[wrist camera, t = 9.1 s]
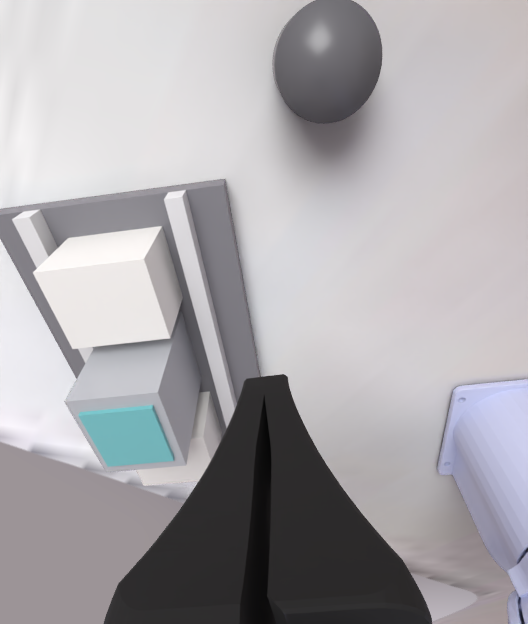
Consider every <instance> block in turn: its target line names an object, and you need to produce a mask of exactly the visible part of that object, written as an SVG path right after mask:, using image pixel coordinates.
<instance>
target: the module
mask: <svg viewBox="0 0 528 624" xmlns="http://www.w3.org/2000/svg"><path fill="white" fill-rule="evenodd" d="M200 384H201V375H200V372H199V368H198V365H197V362H196V358H195V355H194V351H193V348H192V345H191V341H190V338H189V334H188V331H187V328H186V324H185V321H184V317H183V314H182V311H180V312H178V315H177V318H176V321H175V325H174V328H173V331H172V335H171V338H169V339H160V340H151V341H142V342H133V343H124V344H115V345H106V346H96V347H94V349H93V351H92V353H91V354H90V356H89V358H88V360H87V362H86V363H85V365H84V367H83V369H82V371H81V372H80V374H79V376H78V378H77V380H76V382H75V383H74V385H73V387H72V389H71V391H70V392H69V394H68V396H67V398H66V400H65V401H64V402H65V404H66V405H67V407H68V409H69V411H70V412H71V414H72V416H73V417H74V419H75V421H76V422H77V424H78V426H79V427H80V429H81V431H82V432H83V434H84V436H85V438H86V439H87V441H88V443H89V444H90V446H91V448H92V449H93V451H94V453H95V454H96V456H97V458H98V459H99V461H100V463H101V464H102V466H103V468H104V470H105V471H106V472H118V471H129V470H140V469H152V468H163V467H175V466H186V464H187V459H188V453H189V447H190V441H191V436H192V430H193V424H194V418H195V413H196V407H197V401H198V395H199V390H200Z"/></svg>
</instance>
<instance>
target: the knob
mask: <svg viewBox="0 0 528 624" xmlns="http://www.w3.org/2000/svg"><path fill="white" fill-rule="evenodd" d="M381 65H382V44H381V39H380V35H379V31H378V29H377V26H376V24H375V22H374V21H373V19H372V17H371V16H370V15H369V14H368V12H367V11H366V10H365V9H364V8H363V7H362V6H360V5H359V4H357V3H356V2H354V1H352V0H315V1H313V2H311V3H309V4H308V5H306V6H304V7H303V8H302V9H301V10H300V11H298V12H297V13H296V14H295V15H294V16H293V17H292V18H291V19H290V20H289V21H288V23H287V24H286V25H285V26H284V28H283V29H282V31H281V33H280V35H279V37H278V39H277V41H276V45H275V48H274V53H273V74H274V79H275V82H276V85H277V87H278V90H279V91H280V93H281V95H282V97H283V98H284V100H285V102H286V103H287V105H288V106H289V107H290V108H291V109H292V110H293V111H294V112H295V113H296V114H297V115H299V116H300V117H302V118H304V119H305V120H308V121H311V122H315V123H323V124H325V123H333V122H337V121H340V120H343V119H345V118H347V117H349V116H350V115H352V114H353V113H355V112H356V111H357V110H358V109H359V108H360V107H361V106H362V105H363V104H364V103H365V102H366V101H367V99H368V98H369V96H370V95H371V93H372V91H373V90H374V88H375V85H376V83H377V81H378V77H379V74H380V70H381Z"/></svg>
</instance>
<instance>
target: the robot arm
mask: <svg viewBox="0 0 528 624" xmlns="http://www.w3.org/2000/svg"><path fill="white" fill-rule="evenodd" d="M437 470H438V472H439V474H441V475H453V477H454V479H455V481H456V484H457V486H458V488H459V490H460V492H461V494H462V497H463V499H464V501H465V503H466V505H467V508H468V510H469V512H470V514H471V516H472V518H473V521H474V523H475V525H476V527H477V529H478V532H479V534H480V536H481V538H482V540H483V543H484V545H485V547H486V549H487V550H488V552H489V554H490V555H491V557H492V558H493V559H494V560H495V562H496V563H497V564H498V565H499V566H500V567H501V568H502V569H503V570H504V571H505V572H506V573H508V575H509V577H510V579H511V581H512V583H513V585H514V588H515V591H513V592H512V593H511V594H510V595H509V597H508V602H507V613H508V624H528V379H524V380H514V381H504V382H493V383H483V384H473V385H463V386H458V387H456V388H455V389H454V391H453V394H452V399H451V404H450V409H449V413H448V418H447V423H446V428H445V433H444V438H443V443H442V447H441V452H440V457H439V462H438V467H437ZM104 624H432V618H431V615H430V612H429V609H428V607H427V604H426V602H425V600H424V598H423V596H422V594H421V592H420V590H419V588H418V586H417V584H416V582H415V581H414V579H413V577H412V575H411V574H410V572H409V570H408V568H407V567H406V565H405V563H404V562H403V560H402V559H401V558H400V557H399V556H398V555H397V553H396V552H395V551H394V550H393V549H392V548H391V547H390V546H389V545H388V544H387V543H386V541H385V540H384V539H383V538H382V537H381V536H380V535H379V534H378V532H377V531H376V530H375V529H374V528H373V526H372V525H371V524H370V523H369V522H368V520H367V519H366V518H365V517H364V516H363V514H362V513H361V512H360V510H359V509H358V508H357V507H356V505H355V504H354V503H353V501H352V500H351V499H350V497H349V496H348V495H347V494H346V492H345V491H344V490H343V488H342V487H341V485H340V484H339V483H338V481H337V480H336V478H335V477H334V475H333V474H332V472H331V471H330V469H329V468H328V466H327V465H326V463H325V461H324V460H323V458H322V457H321V455H320V453H319V452H318V450H317V448H316V446H315V445H314V443H313V441H312V439H311V437H310V436H309V434H308V432H307V430H306V428H305V426H304V424H303V421H302V419H301V417H300V415H299V413H298V411H297V408H296V406H295V403H294V401H293V398H292V395H291V392H290V388H289V384H288V377H287V376H286V375H284V374H282V375H274V376H265V377H256V378H247V379H246V380H245V381H244V384H243V387H242V391H241V394H240V397H239V400H238V403H237V405H236V408H235V411H234V413H233V415H232V418H231V420H230V422H229V425H228V427H227V429H226V432H225V434H224V436H223V438H222V440H221V442H220V444H219V446H218V448H217V450H216V452H215V454H214V456H213V458H212V460H211V461H210V463H209V465H208V467H207V468H206V470H205V472H204V474H203V475H202V477H201V478H200V480H199V482H198V483H197V485H196V487H195V488H194V490H193V491H192V493H191V494H190V496H189V497H188V499H187V500H186V502H185V503H184V505H183V506H182V507H181V509H180V510H179V512H178V513H177V515H176V516H175V517H174V518H173V520H172V521H171V523H170V524H169V525H168V526H167V527H166V529H165V530H164V531H163V533H162V534H161V535H160V536H159V538H158V539H157V540H156V542H155V543H154V544H153V545H152V546H151V548H150V549H149V550H148V551H147V552H146V553H145V555H144V556H143V557H142V558H141V559H140V560H139V561H138V562H137V564H136V565H135V566H134V567H133V568H132V569H131V570H130V572H129V573H128V574H127V575H126V576H125V577H124V578H123V579H122V581H121V582H120V583H119V584H118V586H117V589H116V591H115V594H114V596H113V598H112V601H111V604H110V606H109V609H108V612H107V614H106V617H105V621H104Z"/></svg>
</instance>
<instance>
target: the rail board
mask: <svg viewBox="0 0 528 624" xmlns="http://www.w3.org/2000/svg"><path fill="white" fill-rule="evenodd" d="M0 239H1V241H2V243H3V244H4V246H5V248H6V250H7V252H8V254H9V255H10V257H11V259H12V261H13V263H14V265H15V266H16V268H17V270H18V272H19V274H20V276H21V277H22V279H23V281H24V283H25V285H26V287H27V288H28V290H29V292H30V294H31V296H32V298H33V299H34V301H35V303H36V305H37V307H38V309H39V310H40V312H41V314H42V316H43V318H44V320H45V321H46V323H47V325H48V327H49V329H50V331H51V333H52V334H53V336H54V338H55V340H56V342H57V344H58V345H59V347H60V349H61V351H62V353H63V355H64V356H65V358H66V360H67V362H68V364H69V366H70V367H71V369H72V371H73V373H74V375H75V377H76V378H78V376H79V374H80V372H81V371H82V369H83V367H84V365H85V363H86V362H87V360H88V358H89V356H90V354H91V353H92V351H93V349H94V347H96V346H106V345H115V344H124V343H133V342H142V341H151V340H160V339H169V338H171V335H172V331H173V328H174V325H175V321H176V318H177V315H178V312H180V311H182V314H183V317H184V321H185V324H186V328H187V331H188V334H189V338H190V341H191V345H192V348H193V351H194V355H195V358H196V362H197V365H198V368H199V372H200V375H201V384H200V390H199V395H198V401H197V407H196V413H195V418H194V424H193V430H192V436H191V441H190V447H189V453H188V459H187V464H186V466H175V467H163V468H152V469H140V470H136V472H137V473H138V475H139V477H140V479H141V481H142V483H143V485H144V486H148V485H160V484H171V483H183V482H194V481H199V480H200V478H201V477H202V475H203V474H204V472H205V470H206V468H207V467H208V465H209V463H210V461H211V460H212V458H213V456H214V454H215V452H216V450H217V448H218V446H219V444H220V442H221V440H222V438H223V436H224V434H225V432H226V429H227V427H228V425H229V422H230V420H231V418H232V415H233V413H234V411H235V408H236V405H237V403H238V400H239V397H240V394H241V391H242V387H243V384H244V381H245V380H246V379H247V378H256V377H260V371H259V366H258V360H257V354H256V349H255V343H254V338H253V332H252V327H251V321H250V315H249V310H248V304H247V299H246V293H245V288H244V282H243V277H242V271H241V265H240V260H239V254H238V249H237V243H236V238H235V232H234V226H233V221H232V215H231V210H230V204H229V199H228V193H227V187H226V182H225V179H220V180H213V181H205V182H198V183H191V184H183V185H176V186H168V187H161V188H153V189H146V190H138V191H131V192H123V193H116V194H108V195H101V196H94V197H86V198H79V199H71V200H64V201H56V202H49V203H41V204H34V205H26V206H19V207H11V208H4V209H0Z"/></svg>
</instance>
